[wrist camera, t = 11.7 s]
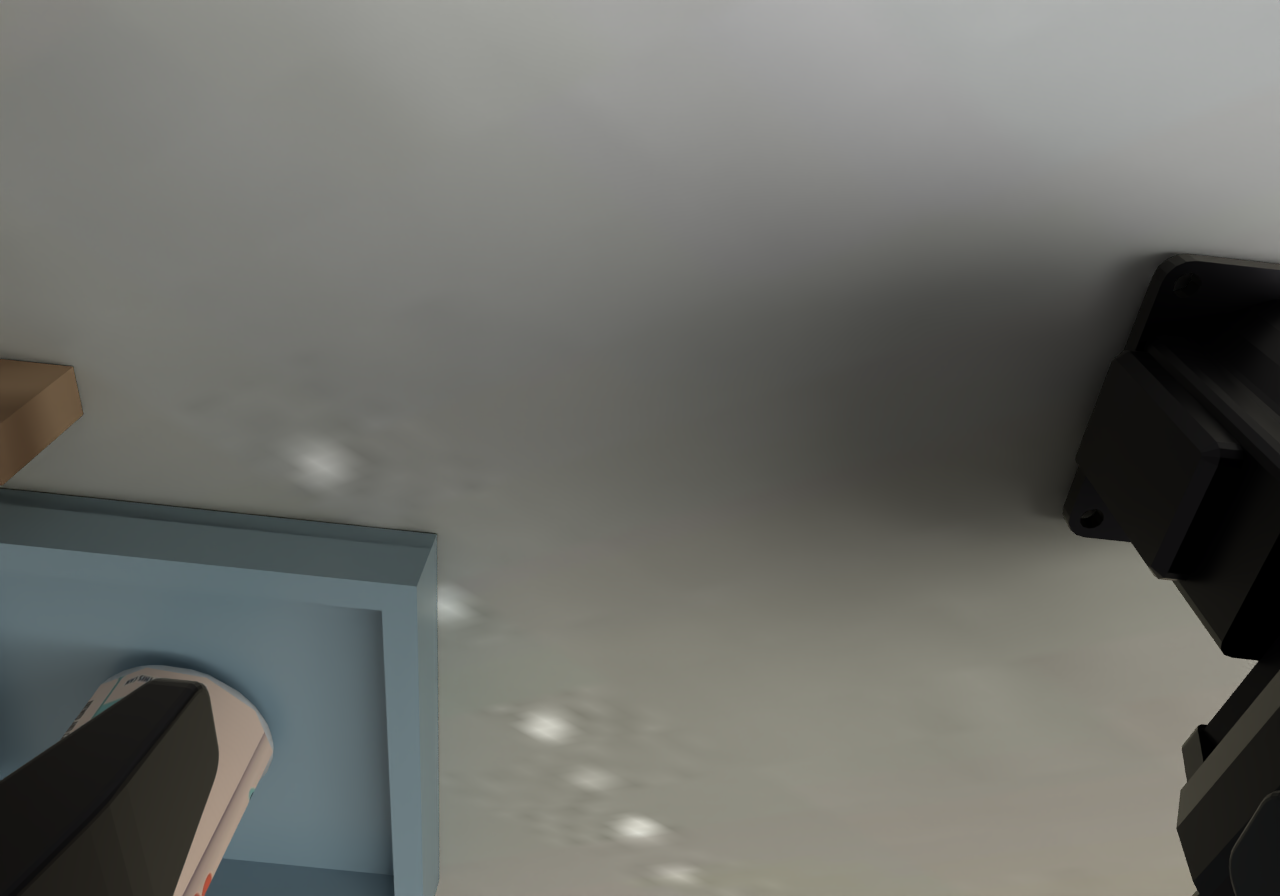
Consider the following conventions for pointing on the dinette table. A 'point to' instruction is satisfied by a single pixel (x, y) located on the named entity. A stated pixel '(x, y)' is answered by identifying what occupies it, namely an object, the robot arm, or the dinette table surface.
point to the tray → (246, 669)
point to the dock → (33, 410)
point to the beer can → (238, 767)
